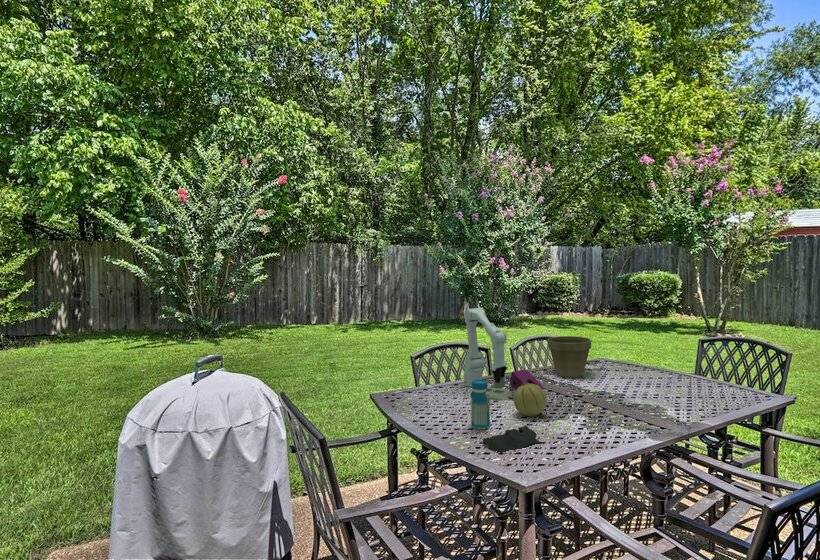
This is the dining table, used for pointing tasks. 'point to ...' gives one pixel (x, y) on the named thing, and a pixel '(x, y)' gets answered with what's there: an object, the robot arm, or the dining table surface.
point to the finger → (499, 385)
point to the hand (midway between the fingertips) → (499, 381)
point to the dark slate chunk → (512, 440)
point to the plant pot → (569, 355)
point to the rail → (497, 393)
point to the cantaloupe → (530, 399)
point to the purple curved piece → (522, 379)
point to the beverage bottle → (480, 405)
